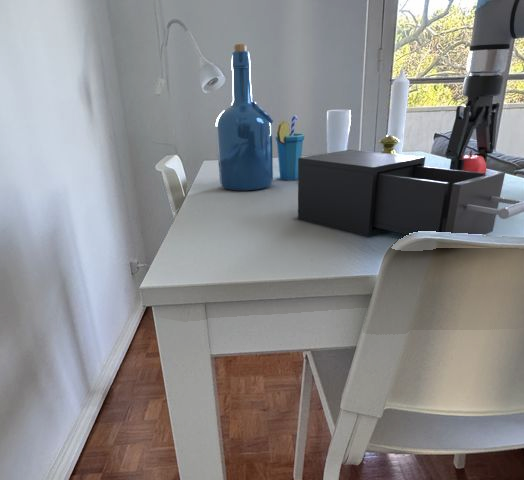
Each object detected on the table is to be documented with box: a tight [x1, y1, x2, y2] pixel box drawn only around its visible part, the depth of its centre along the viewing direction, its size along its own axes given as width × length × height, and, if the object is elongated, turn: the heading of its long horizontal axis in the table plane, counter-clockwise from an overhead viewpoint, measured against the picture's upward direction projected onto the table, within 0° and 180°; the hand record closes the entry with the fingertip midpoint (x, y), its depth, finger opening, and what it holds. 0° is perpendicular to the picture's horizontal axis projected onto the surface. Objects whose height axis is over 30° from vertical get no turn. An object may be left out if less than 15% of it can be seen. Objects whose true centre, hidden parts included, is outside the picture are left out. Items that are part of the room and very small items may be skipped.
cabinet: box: [297, 149, 426, 237], centre depth 84 cm, size 17×14×11 cm
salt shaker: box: [378, 134, 399, 154], centre depth 120 cm, size 7×7×10 cm
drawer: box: [372, 165, 524, 235], centre depth 72 cm, size 22×13×9 cm, turn 40°
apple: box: [462, 149, 487, 173], centre depth 107 cm, size 8×8×8 cm
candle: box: [387, 66, 411, 155], centre depth 132 cm, size 7×7×25 cm
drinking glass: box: [325, 109, 351, 153], centre depth 138 cm, size 7×7×15 cm
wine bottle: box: [215, 43, 275, 192], centre depth 110 cm, size 14×13×30 cm
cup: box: [274, 114, 305, 181], centre depth 123 cm, size 14×8×15 cm, turn 163°
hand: (464, 186), depth 109 cm, fingers open, 9 cm apart
